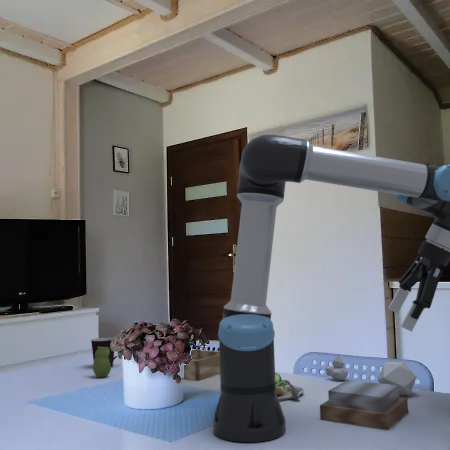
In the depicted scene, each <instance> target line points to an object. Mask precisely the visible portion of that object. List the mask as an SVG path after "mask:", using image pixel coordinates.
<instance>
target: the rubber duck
mask: <svg viewBox="0 0 450 450" xmlns="http://www.w3.org/2000/svg"><path fill="white" fill-rule="evenodd" d="M345 364H346V362H345V361H344V360H343V358H342V357H341V356H340V353H338V355H337V356H336V357H335V358H333V360H332V362H331V365H332V366H325V371H326V376H328V377H330V376H331V378H332V379H333V380H335V381H341V382H342V381H344V380H346V378H347V377H348V376H349V371H348V369H347V368H345V367H344V366H345Z"/></svg>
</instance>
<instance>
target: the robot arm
mask: <svg viewBox="0 0 450 450" xmlns="http://www.w3.org/2000/svg"><path fill="white" fill-rule="evenodd" d="M240 158H241V159H240V162H239V165H238V181H237V190H236V197H237V199H238V200H239V201H240V203H241V208H240V209H241V210H240V218H239V227H238V235H237V245H236V252H235V262H234V270H233V277H232V278H233V279H232V287H231V288H232V289H231V297H230V300H229V302H228V303H226V304H225V305H224V306H223V312H222V319H221V321H220V322H219V327H218V333H217V335H218V336H217V337H218V342H219V344H218V345H219V346H218V347H219V352H220V374H219V378H220V379H219V381H220V382H219V383H220V396H219V399H218V402H217V404H216V409H215V412H214V416H213V420H212V426H213V428H212V430H213V434H214V435H215V436H216V437H218V438H221V439H222V440H226V441H231V442H236V443H237V442H238V443H259V442H267V441H271V440H274V439H277V438H280V437H281V436H283V435H284V434H285V433H286V429H287V428H286V426H287V424H286V417H285V415H284V412H283V408H282V405H281V404H280V402H279V400H278V397H277V394H276V383H275V373H276V363H275V362H276V360H275V359H276V358H275V336H276V335H275V329H274V324H273V321H272V319H271V318H272V311H271V310H270V309H269V307H268V306H267V298H268V289H269V280H270V279H269V278H270V272H271V261H272V253H273V243H274V235H275V234H274V233H275V225H276V216H277V208H278V206H280V205H281V204H282V203H284V200H285V191H286V182H287V183H288V182H289V183H296V184H301V183H302V182H304V181H306V180H307V181H313V182H320V183H325V184H329V185H330V184H332V185H337V186H342V187H343V186H344V187H349V188H356V189H360V190H361V189H363V190H368V191H374V192H380V193H386V194H392V195H393V196H394V197H393V198H394V199H395V200H397V201H398V202H401V203H402V204H404V205H405V206H409V207H411V208H413V209H416V210H417V211H420V212H422V213H423V214H427V215H430V216H432V217H434V220H433V222H432V224H431V226H430V227H429V229H428V231H427V233H426V235H425V236H424V237H425V239H426V240H424V241H422V243H421V244H420V247H419V249H418V251H417V253H418V254H419V255H420V256H419V255H417V256H416V257H415V259H414V261H413V262H412V264H411V265H410V266H409V268H408V269H407V270H406V271H405V272H404V274H403V275H402V277H400V279H399V280H398V283H399V288H398V290H397V291H396V293H395V294H394V297H393V298H392V300H391V302H390V304H389V306H388V308H387V309H388V310H389V311H392V312H393V313H396V314H399V312H400V310H401V309H402V307H403V305H404V303H405V302H406V299H407V298H408V295H409V294H410V293H411V292H412V288H413V287H414V286H415V285H416V284H417V283H418V282H419V284H418V289H417V292H416V293H417V294H416V298H415V299H414V300H413V301H412V305H411V306H410V308H409V309H408V311H407V313H406V315H405V317H404V319H403V321H402V323H401V324H400V327H401V328H403V329H405V330H408V331H409V332H413V330H414V328H415V326H416V324H417V323H418V321H419V319H420V317H421V315H422V314H423V312H424V310H425V309H430V308H431V306H432V303H433V300H434V297H435V294H436V291H437V288H438V285H439V281H440V279H441V277H442V275H443V270H442V269H440V268H439V267H440V265H441V266H443V267H447V266H448V265H449V263H450V163H449V164H444V165H440V166H436V165H430V164H422V163H416V162H411V161H405V160H401V159H400V160H398V159H394V158H387V157H383V156H382V157H381V156H375V155H368V154H364V153H358V152H351V151H345V150H341V149H335V148H327V147H321V146H316V145H312V144H311V142H310V140H309V139H303V138H298V137H297V138H296V137H291V136H285V135H279V134H262V135H259V136H256V137H254V138H253V139H251V140H250V141H248V143H247V144H246V145H245V146H244V148H243V150H242V153H241V157H240Z"/></svg>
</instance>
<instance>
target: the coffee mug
mask: <svg viewBox="0 0 450 450" xmlns="http://www.w3.org/2000/svg"><path fill="white" fill-rule="evenodd" d="M113 338H114V337H96V338H92V339H91V341H90V343H91V350H92V359H93V361H94V360H95V353H96V351H97V347H108V348H109V350H110V354H109V356H108V359H109V362H110V365H111V367H112V368H113V367H114V361H115V359H116V358H118V357H117V355H115V351H114V352H113V351H111V349H110V343H111V340H112V339H113Z"/></svg>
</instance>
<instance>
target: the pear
mask: <svg viewBox="0 0 450 450" xmlns="http://www.w3.org/2000/svg"><path fill="white" fill-rule="evenodd" d="M109 354H110V350H109V348H108V347H97V351H96V353H95V360H93V364H92V369H93V373H94V375H95V376H96V377H97V378H106V377H107V376H109V375H110V373H111V370H112V368H111V365H110V362H109V359H108V356H109Z"/></svg>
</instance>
